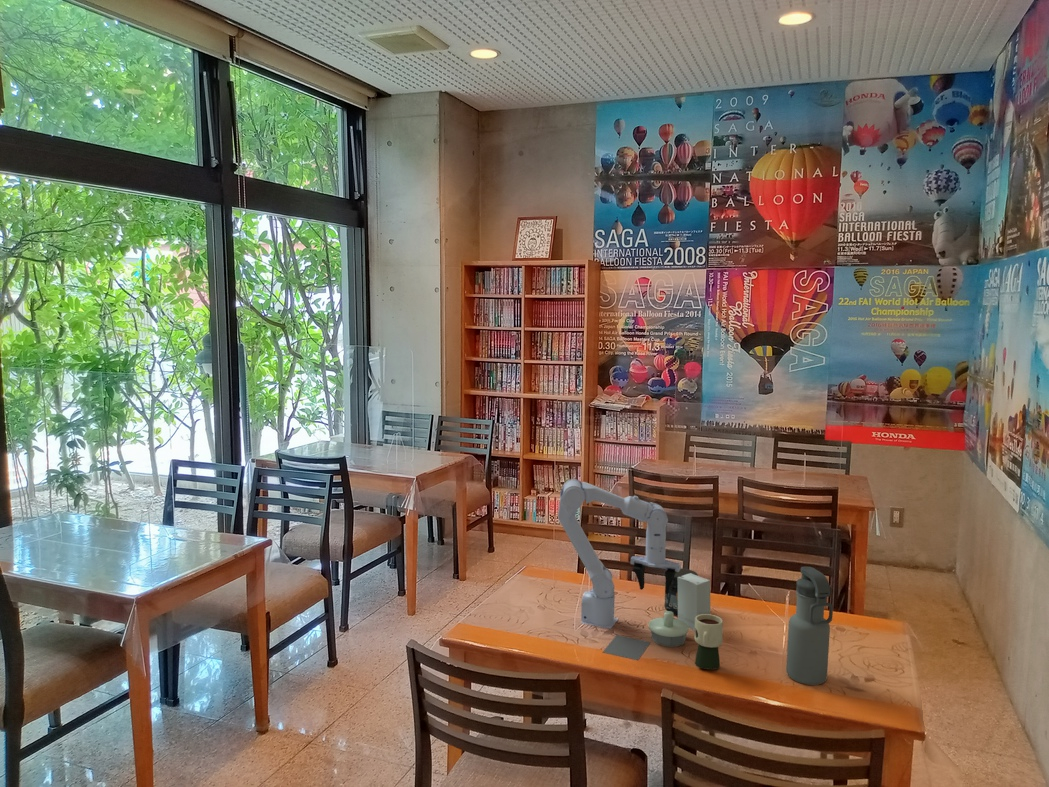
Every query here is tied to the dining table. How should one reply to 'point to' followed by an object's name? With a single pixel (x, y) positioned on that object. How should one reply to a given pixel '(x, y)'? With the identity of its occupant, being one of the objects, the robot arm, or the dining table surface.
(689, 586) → the skincare box
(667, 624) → the lid
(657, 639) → the bowl
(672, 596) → the supplement container
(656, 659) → the dining table surface
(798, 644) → the water bottle
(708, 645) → the character mug
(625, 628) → the dining table surface
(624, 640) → the mat
